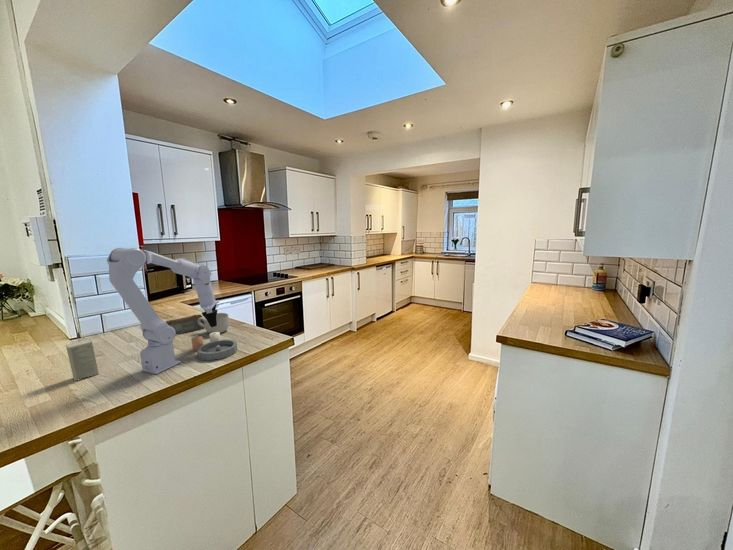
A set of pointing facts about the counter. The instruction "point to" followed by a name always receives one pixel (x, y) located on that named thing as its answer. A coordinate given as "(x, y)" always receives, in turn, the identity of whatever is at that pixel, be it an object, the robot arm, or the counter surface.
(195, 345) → the bead terracotta
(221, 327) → the teacup
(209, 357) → the groove tray
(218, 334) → the bead cream
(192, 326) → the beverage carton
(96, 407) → the counter surface
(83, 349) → the skincare box
